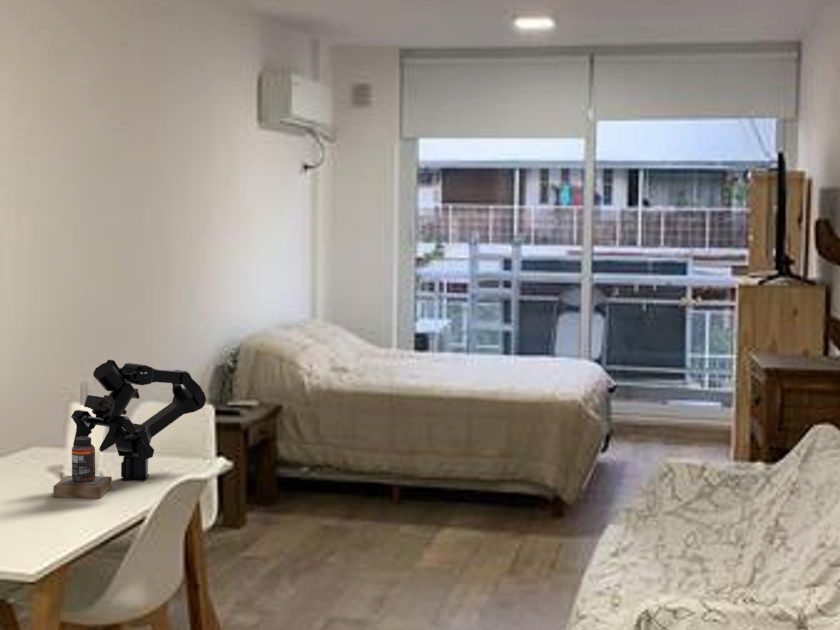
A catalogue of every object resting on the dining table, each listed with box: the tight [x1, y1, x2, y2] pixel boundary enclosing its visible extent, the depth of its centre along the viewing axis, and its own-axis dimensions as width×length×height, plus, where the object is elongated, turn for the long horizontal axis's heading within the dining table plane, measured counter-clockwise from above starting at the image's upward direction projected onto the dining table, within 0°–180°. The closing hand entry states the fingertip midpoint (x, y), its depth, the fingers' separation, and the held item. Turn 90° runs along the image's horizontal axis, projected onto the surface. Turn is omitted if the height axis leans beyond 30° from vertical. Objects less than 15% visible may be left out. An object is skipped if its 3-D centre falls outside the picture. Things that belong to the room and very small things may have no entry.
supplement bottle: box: [71, 436, 96, 482], centre depth 295 cm, size 6×6×11 cm
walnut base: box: [52, 475, 113, 499], centre depth 295 cm, size 12×12×3 cm
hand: (87, 448), depth 296 cm, fingers open, 9 cm apart
